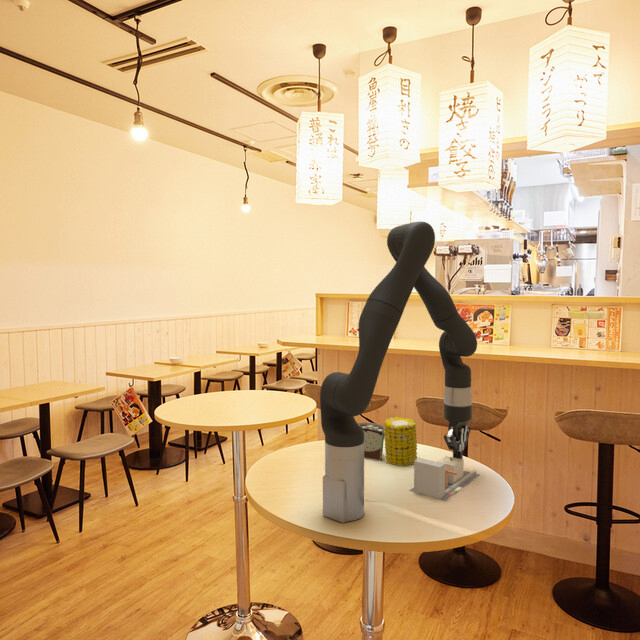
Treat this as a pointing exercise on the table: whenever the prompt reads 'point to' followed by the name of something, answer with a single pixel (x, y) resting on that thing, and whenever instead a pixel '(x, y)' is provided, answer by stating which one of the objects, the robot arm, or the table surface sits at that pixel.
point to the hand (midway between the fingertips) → (457, 463)
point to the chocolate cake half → (373, 440)
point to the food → (400, 441)
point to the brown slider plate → (447, 476)
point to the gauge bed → (437, 480)
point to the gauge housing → (453, 468)
